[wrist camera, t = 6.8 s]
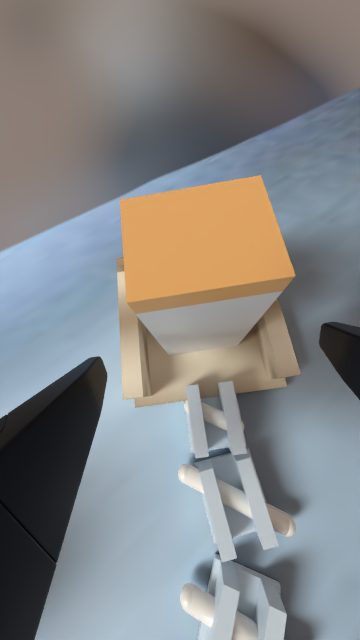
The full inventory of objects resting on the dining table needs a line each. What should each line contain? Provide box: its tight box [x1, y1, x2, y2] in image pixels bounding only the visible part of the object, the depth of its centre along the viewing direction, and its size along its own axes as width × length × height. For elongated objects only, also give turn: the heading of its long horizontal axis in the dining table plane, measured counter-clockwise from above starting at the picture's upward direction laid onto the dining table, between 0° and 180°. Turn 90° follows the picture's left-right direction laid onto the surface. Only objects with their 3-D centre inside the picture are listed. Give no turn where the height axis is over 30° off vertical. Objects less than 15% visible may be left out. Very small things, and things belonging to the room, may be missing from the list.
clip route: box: [178, 381, 296, 640], centre depth 12 cm, size 6×14×2 cm, turn 1°
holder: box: [117, 257, 301, 408], centre depth 16 cm, size 10×10×3 cm
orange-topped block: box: [120, 175, 296, 356], centre depth 12 cm, size 4×5×10 cm
